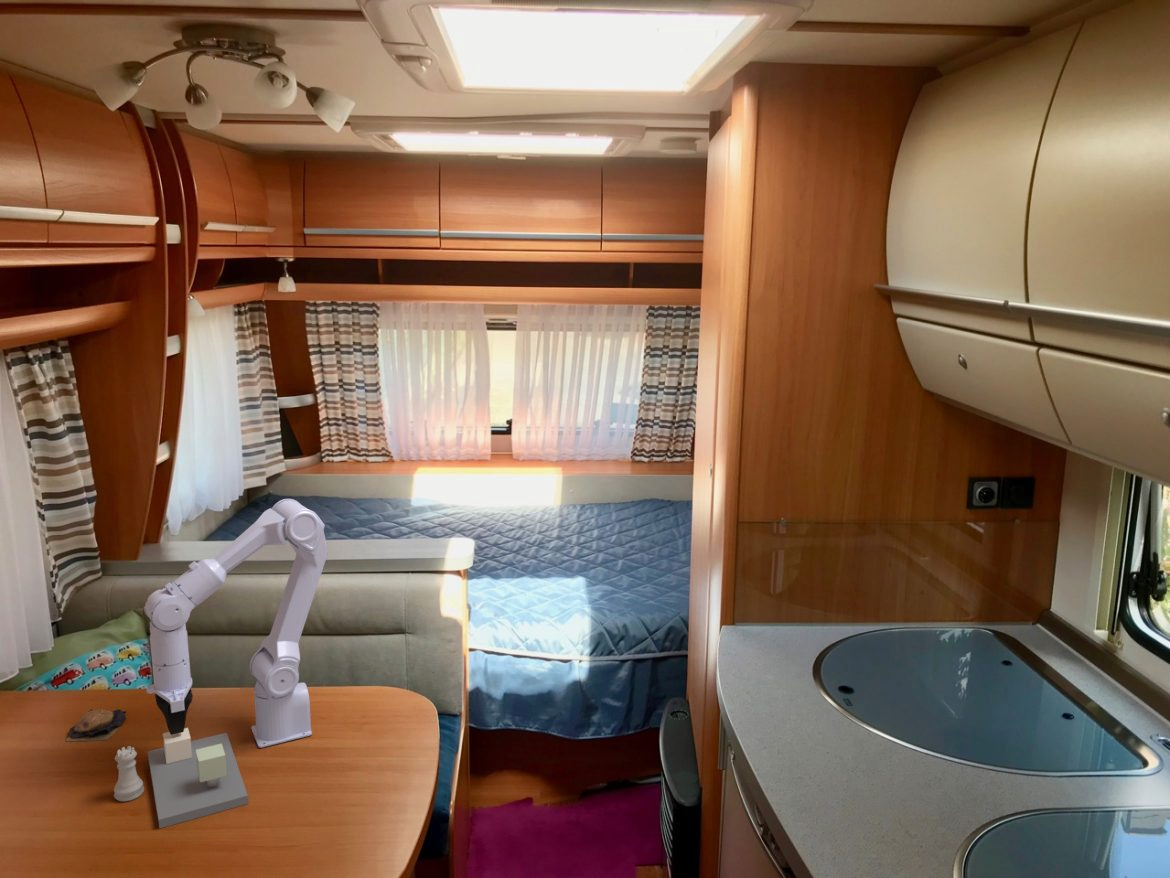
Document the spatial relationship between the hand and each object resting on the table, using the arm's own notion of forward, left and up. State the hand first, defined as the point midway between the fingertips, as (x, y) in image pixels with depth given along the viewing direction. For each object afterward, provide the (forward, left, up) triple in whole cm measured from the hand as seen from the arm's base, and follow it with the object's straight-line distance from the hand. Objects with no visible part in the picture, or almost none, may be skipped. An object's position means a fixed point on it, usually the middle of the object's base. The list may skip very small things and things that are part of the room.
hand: (176, 731), depth 149 cm
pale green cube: (-4, +12, -3) cm, 13 cm away
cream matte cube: (0, 0, -5) cm, 5 cm away
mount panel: (-2, +7, -6) cm, 9 cm away
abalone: (+12, -20, -7) cm, 25 cm away
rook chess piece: (+8, +6, -6) cm, 12 cm away
